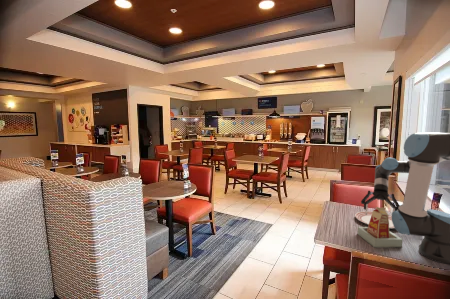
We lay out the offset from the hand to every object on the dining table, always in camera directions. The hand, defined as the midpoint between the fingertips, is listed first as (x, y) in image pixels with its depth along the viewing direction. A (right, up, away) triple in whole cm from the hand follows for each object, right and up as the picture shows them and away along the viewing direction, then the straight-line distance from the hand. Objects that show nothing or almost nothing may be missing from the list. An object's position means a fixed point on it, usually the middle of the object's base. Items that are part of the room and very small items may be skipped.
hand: (379, 216), depth 137 cm
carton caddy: (-3, -13, -3) cm, 14 cm away
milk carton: (-3, -13, -3) cm, 13 cm away
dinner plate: (+13, -11, +21) cm, 27 cm away
